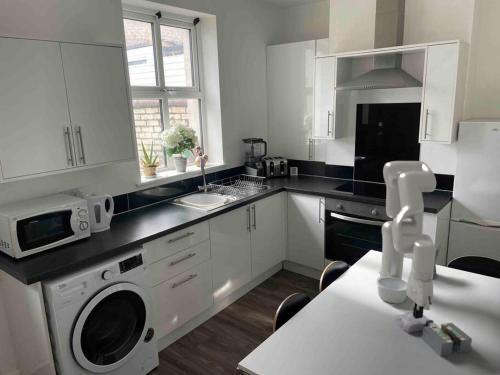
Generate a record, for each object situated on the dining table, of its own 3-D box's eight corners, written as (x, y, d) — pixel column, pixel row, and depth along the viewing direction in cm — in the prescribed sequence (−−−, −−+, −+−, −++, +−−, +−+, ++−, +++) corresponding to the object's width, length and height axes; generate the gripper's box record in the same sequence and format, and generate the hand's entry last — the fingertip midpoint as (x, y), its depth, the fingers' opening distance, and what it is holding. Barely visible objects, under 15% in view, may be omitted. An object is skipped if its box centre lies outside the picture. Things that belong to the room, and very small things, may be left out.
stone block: (391, 325, 154) (408, 334, 145) (391, 313, 154) (408, 322, 145) (416, 320, 158) (434, 330, 148) (416, 309, 157) (434, 318, 148)
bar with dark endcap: (425, 327, 147) (427, 313, 146) (431, 326, 148) (432, 312, 146) (445, 344, 137) (446, 329, 136) (450, 343, 138) (452, 328, 136)
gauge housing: (422, 338, 142) (423, 326, 141) (450, 334, 145) (451, 321, 143) (440, 356, 133) (442, 342, 131) (470, 351, 135) (472, 337, 134)
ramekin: (403, 290, 177) (404, 277, 176) (411, 306, 164) (413, 291, 163) (373, 289, 179) (374, 276, 177) (380, 304, 166) (381, 290, 164)
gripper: (401, 266, 149) (397, 308, 154) (425, 283, 135) (421, 329, 139) (418, 264, 151) (414, 305, 155) (444, 281, 137) (439, 327, 141)
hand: (417, 317), depth 147 cm, fingers closed
